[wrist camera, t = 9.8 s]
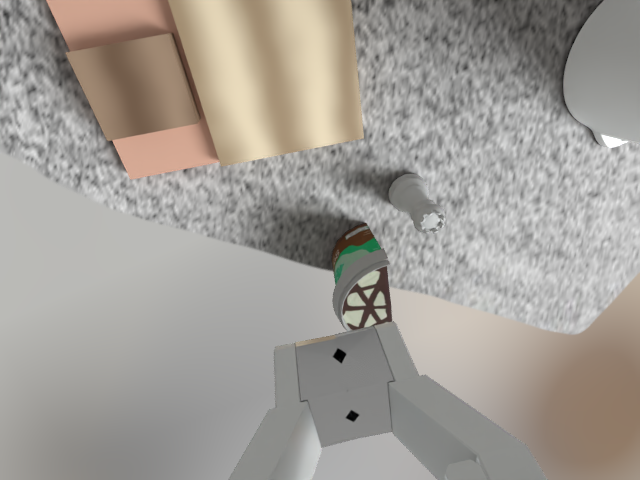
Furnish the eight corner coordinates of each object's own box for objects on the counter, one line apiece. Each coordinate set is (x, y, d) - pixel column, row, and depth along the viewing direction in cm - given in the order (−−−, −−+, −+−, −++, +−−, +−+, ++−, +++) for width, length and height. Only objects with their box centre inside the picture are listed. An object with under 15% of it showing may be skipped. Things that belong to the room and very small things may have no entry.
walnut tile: (173, 32, 30) (167, 33, 28) (201, 118, 34) (197, 123, 32) (76, 50, 30) (64, 52, 28) (115, 134, 33) (107, 141, 32)
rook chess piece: (385, 177, 41) (409, 209, 34) (423, 167, 41) (454, 197, 34) (389, 211, 43) (412, 247, 37) (425, 202, 43) (455, 236, 37)
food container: (314, 223, 43) (326, 274, 34) (364, 212, 43) (389, 259, 35) (330, 300, 49) (344, 359, 41) (374, 290, 50) (397, 346, 41)
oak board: (336, -68, 29) (343, -76, 27) (356, 130, 38) (363, 138, 35) (164, -36, 29) (154, -42, 26) (224, 156, 37) (221, 166, 35)
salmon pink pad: (161, -36, 29) (157, -39, 28) (222, 156, 37) (220, 161, 36) (48, -16, 29) (38, -17, 27) (135, 173, 37) (130, 179, 36)
